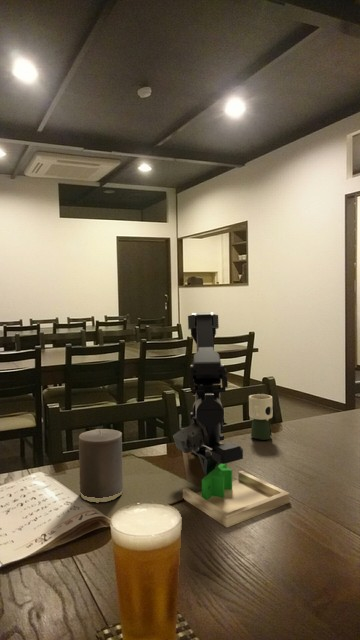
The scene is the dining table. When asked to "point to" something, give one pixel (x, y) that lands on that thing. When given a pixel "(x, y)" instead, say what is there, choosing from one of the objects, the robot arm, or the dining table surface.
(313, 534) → the dining table surface
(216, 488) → the pipe clamp
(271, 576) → the dining table surface
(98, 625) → the dining table surface
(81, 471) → the pillar candle
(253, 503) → the corral
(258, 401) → the character mug
